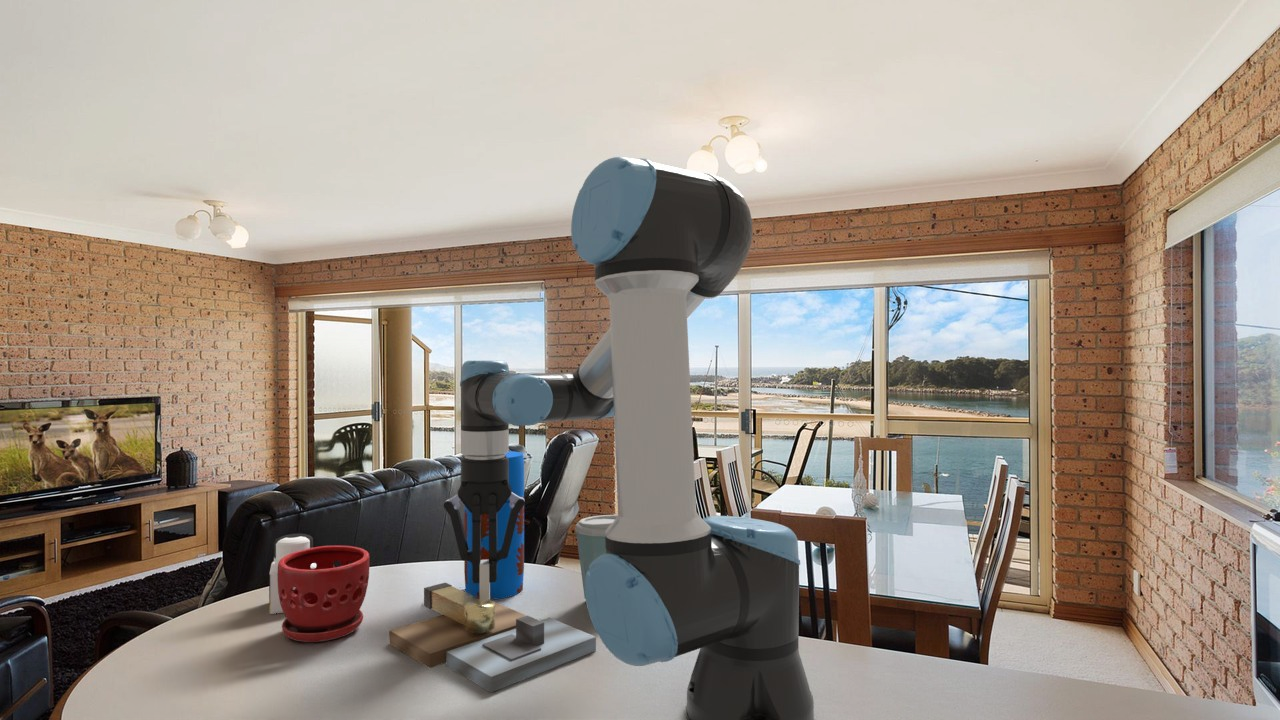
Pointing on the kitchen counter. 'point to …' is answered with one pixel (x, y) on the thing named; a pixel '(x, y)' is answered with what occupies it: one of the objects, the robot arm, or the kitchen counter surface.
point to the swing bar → (461, 607)
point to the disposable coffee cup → (591, 540)
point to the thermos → (501, 540)
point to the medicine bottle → (281, 549)
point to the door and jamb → (493, 646)
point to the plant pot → (322, 592)
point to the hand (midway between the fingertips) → (484, 602)
